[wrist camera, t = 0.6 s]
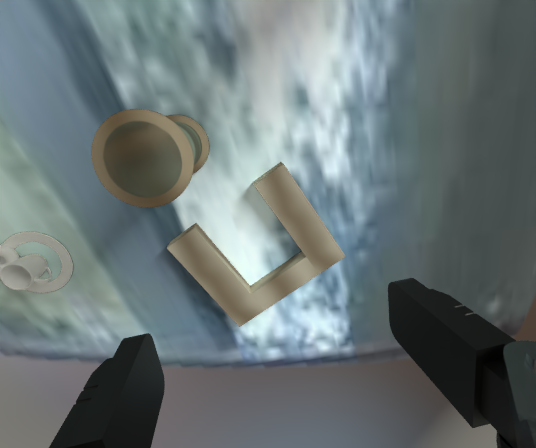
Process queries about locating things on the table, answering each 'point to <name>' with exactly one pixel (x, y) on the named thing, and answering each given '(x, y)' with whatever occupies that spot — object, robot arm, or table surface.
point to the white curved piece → (32, 264)
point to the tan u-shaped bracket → (279, 280)
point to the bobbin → (148, 155)
